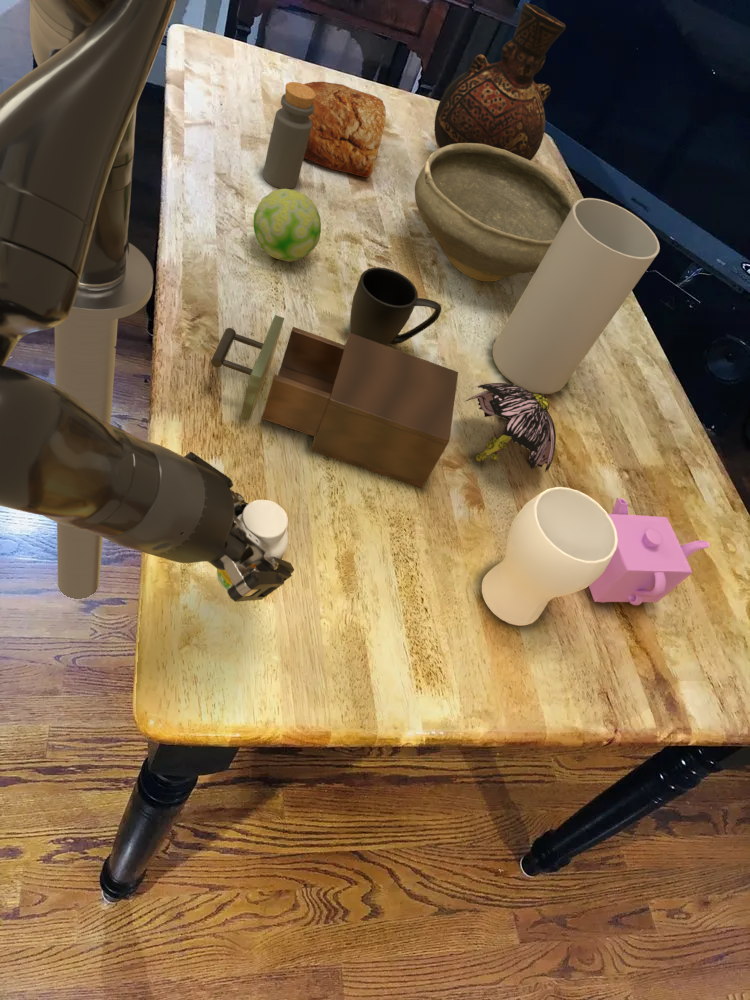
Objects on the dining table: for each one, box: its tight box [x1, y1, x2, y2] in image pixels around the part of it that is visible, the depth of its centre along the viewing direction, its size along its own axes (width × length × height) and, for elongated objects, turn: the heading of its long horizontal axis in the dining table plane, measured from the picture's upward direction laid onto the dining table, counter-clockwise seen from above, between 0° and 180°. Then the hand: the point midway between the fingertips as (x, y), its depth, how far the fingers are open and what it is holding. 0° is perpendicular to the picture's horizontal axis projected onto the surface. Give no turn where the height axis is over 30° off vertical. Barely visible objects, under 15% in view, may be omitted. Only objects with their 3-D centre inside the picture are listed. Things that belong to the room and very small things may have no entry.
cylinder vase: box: [492, 197, 661, 395], centre depth 107 cm, size 12×12×25 cm
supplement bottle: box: [216, 499, 289, 592], centre depth 69 cm, size 5×5×10 cm
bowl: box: [414, 143, 575, 282], centre depth 125 cm, size 28×28×14 cm
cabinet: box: [310, 332, 459, 489], centre depth 94 cm, size 15×13×9 cm
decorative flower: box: [465, 382, 557, 473], centre depth 100 cm, size 15×12×15 cm
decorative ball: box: [253, 188, 322, 262], centre depth 111 cm, size 10×10×10 cm
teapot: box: [588, 497, 711, 606], centre depth 92 cm, size 18×13×10 cm
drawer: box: [210, 314, 345, 437], centre depth 92 cm, size 19×11×7 cm, turn 81°
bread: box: [281, 81, 387, 178], centre depth 135 cm, size 20×18×10 cm
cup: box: [481, 486, 618, 626], centre depth 83 cm, size 11×11×15 cm
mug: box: [349, 266, 442, 347], centre depth 105 cm, size 8×12×10 cm
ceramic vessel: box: [434, 2, 566, 161], centre depth 138 cm, size 21×18×30 cm
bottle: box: [262, 81, 316, 190], centre depth 121 cm, size 6×6×15 cm
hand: (270, 546), depth 70 cm, fingers closed on supplement bottle, 5 cm apart
